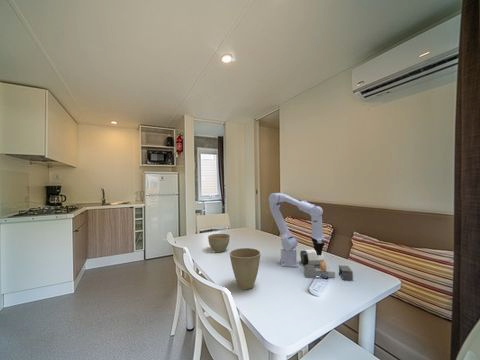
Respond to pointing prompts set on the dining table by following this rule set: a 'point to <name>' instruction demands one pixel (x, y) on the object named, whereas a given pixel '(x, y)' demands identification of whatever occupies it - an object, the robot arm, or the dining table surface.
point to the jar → (311, 257)
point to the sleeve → (313, 271)
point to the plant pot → (245, 266)
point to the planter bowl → (218, 242)
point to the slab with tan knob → (326, 269)
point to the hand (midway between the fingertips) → (317, 252)
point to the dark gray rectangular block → (346, 273)
